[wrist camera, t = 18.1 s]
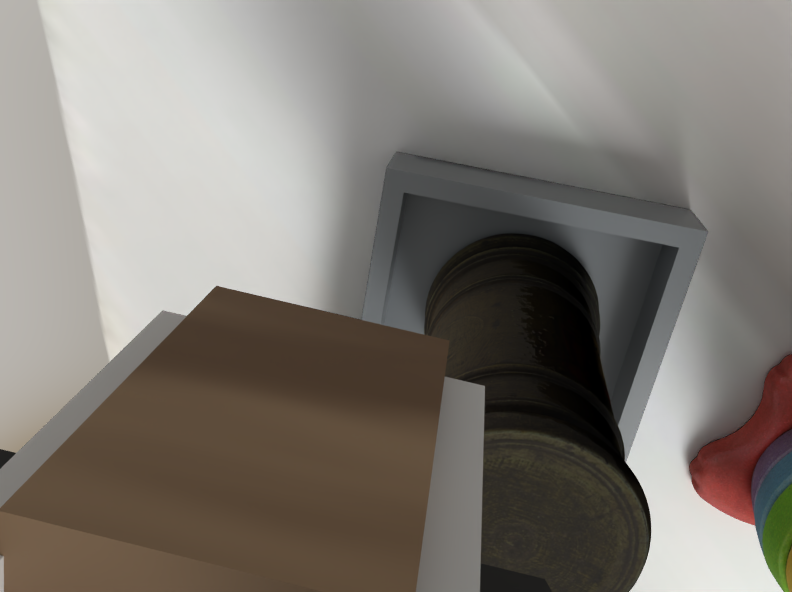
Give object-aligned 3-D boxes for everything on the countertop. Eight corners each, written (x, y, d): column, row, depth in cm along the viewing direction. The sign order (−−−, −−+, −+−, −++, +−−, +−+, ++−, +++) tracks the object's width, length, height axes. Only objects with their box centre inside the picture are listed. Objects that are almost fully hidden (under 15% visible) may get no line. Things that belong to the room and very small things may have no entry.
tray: (396, 151, 38) (386, 167, 35) (691, 209, 37) (708, 231, 34) (338, 493, 47) (326, 531, 44) (575, 547, 46) (580, 589, 43)
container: (430, 384, 42) (383, 642, 26) (421, 231, 39) (362, 418, 23) (594, 385, 41) (654, 658, 25) (600, 228, 38) (675, 423, 21)
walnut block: (216, 286, 13) (-3, 510, 7) (449, 340, 12) (412, 614, 7) (194, 479, 14) (0, 788, 9) (401, 530, 14) (340, 879, 8)
